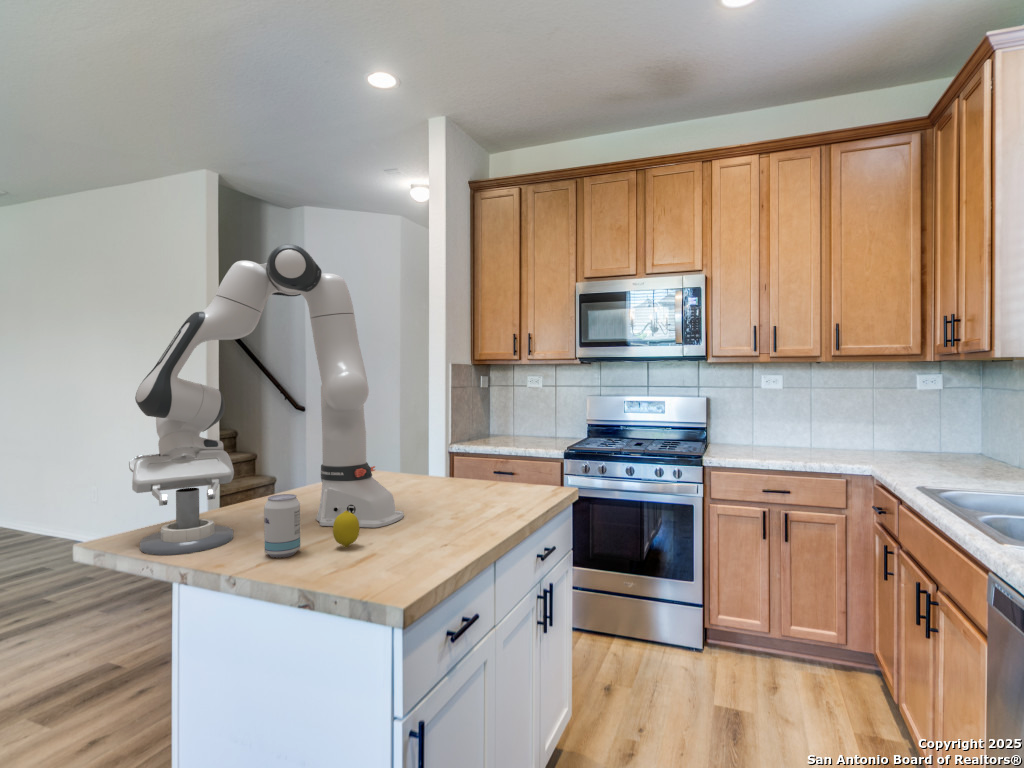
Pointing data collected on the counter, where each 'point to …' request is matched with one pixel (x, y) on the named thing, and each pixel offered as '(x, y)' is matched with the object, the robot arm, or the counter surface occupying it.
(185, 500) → the grey hollow cylinder
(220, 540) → the collar
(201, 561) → the counter surface
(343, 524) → the lemon
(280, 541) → the beverage can
